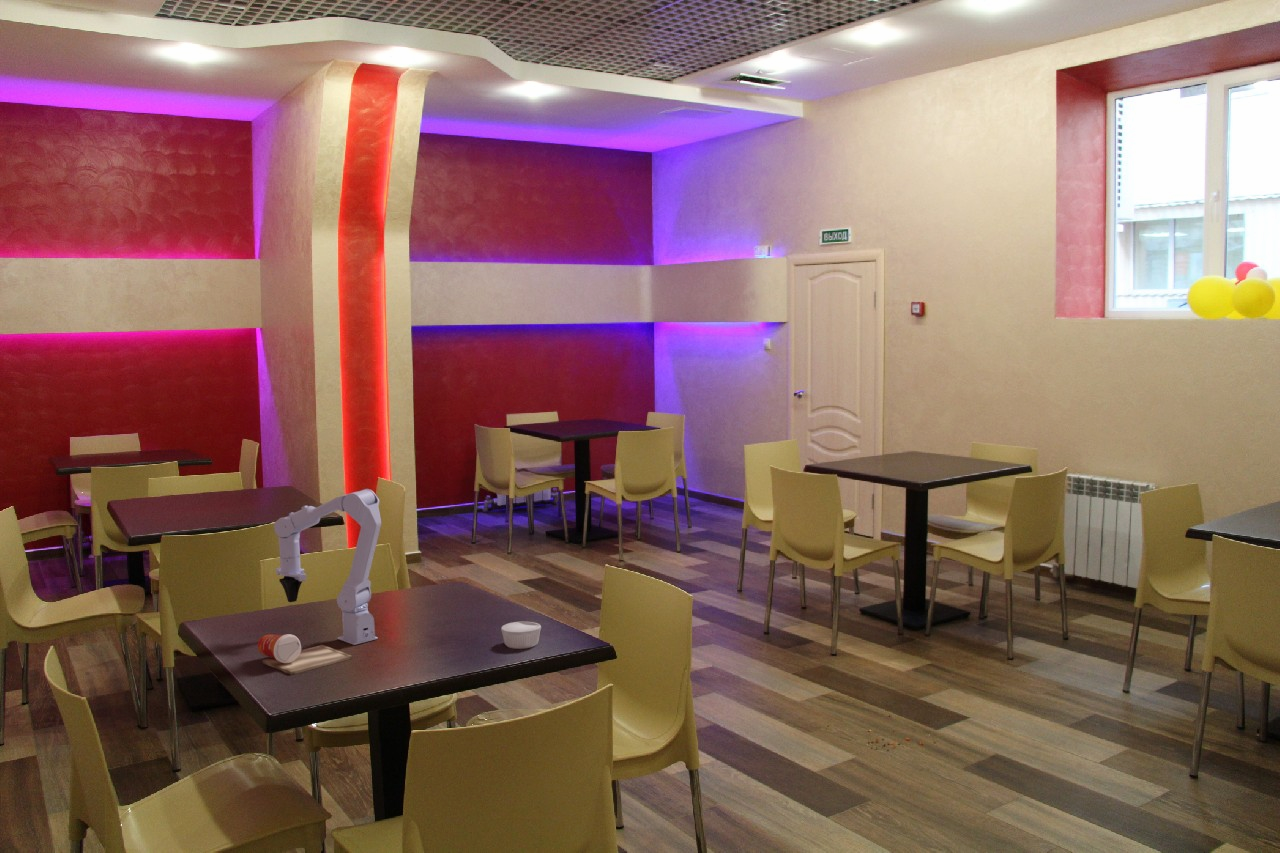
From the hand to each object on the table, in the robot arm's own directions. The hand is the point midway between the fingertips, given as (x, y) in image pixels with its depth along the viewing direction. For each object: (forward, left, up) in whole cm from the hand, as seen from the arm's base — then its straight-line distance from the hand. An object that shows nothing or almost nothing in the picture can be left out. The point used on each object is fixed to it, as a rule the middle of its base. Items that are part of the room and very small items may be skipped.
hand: (292, 601), depth 312 cm
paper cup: (-14, +15, -7) cm, 22 cm away
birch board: (-26, +10, -10) cm, 30 cm away
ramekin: (-60, -38, -11) cm, 72 cm away
